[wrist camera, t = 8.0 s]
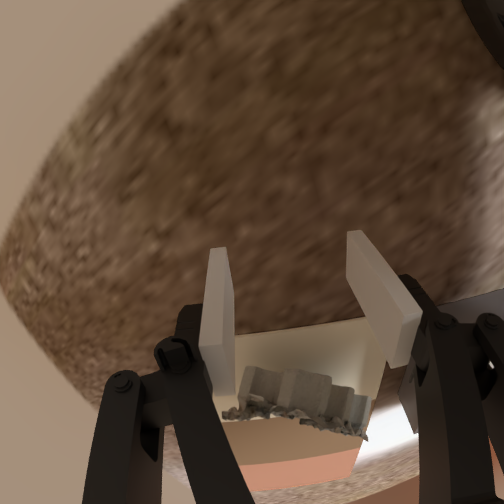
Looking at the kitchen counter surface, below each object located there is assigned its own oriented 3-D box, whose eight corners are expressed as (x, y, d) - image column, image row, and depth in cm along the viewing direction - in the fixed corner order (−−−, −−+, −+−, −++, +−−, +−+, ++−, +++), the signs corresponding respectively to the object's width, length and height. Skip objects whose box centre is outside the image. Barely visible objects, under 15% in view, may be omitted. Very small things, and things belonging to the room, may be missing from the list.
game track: (175, 340, 22) (175, 342, 22) (395, 310, 22) (396, 312, 22) (241, 490, 38) (241, 491, 37) (349, 475, 37) (349, 476, 37)
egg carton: (228, 360, 21) (211, 416, 19) (327, 367, 16) (311, 438, 14) (304, 396, 27) (293, 437, 25) (380, 400, 23) (371, 448, 21)
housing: (422, 309, 22) (452, 354, 18) (514, 285, 22) (545, 317, 17) (397, 394, 27) (413, 434, 23) (481, 366, 27) (500, 398, 23)
